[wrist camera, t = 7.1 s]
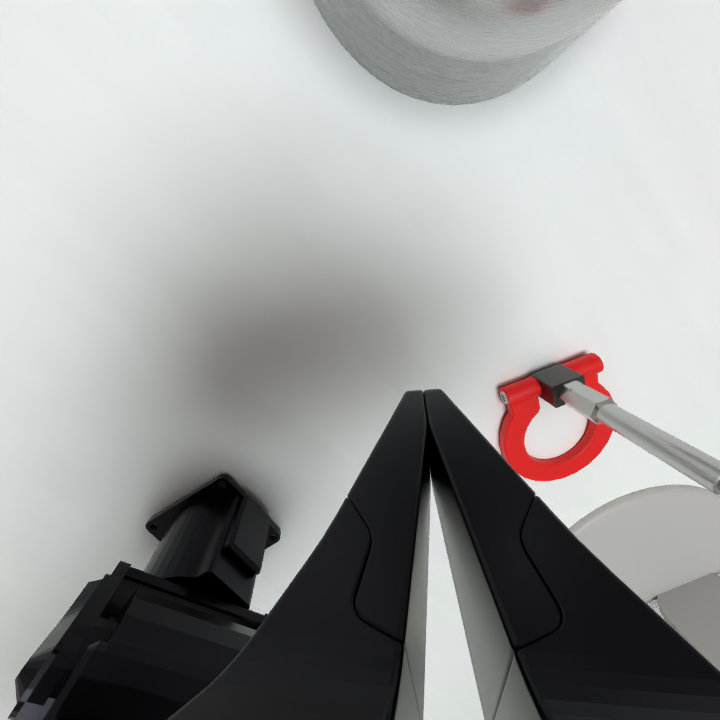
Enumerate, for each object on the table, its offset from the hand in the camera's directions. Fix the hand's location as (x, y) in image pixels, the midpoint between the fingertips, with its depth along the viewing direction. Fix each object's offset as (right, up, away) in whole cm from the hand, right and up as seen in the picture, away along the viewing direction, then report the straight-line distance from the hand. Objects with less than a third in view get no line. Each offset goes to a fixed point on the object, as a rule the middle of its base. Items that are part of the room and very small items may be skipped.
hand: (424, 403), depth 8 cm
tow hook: (+12, -3, +16) cm, 20 cm away
